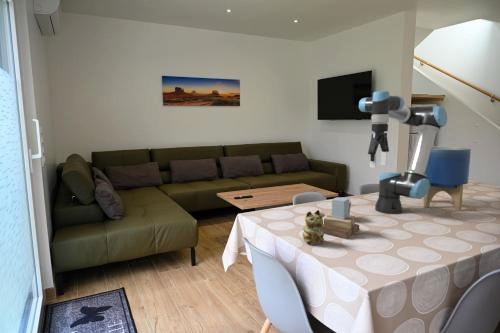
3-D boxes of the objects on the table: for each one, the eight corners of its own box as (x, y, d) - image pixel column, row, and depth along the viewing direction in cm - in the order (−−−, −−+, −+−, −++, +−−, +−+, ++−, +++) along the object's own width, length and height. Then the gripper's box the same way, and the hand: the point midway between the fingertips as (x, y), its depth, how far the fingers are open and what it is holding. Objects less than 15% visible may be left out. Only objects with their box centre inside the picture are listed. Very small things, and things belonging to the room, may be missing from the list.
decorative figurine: (308, 246, 141) (309, 213, 139) (298, 240, 149) (298, 208, 147) (326, 243, 145) (327, 210, 143) (315, 237, 153) (316, 206, 151)
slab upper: (330, 220, 167) (330, 212, 167) (354, 223, 162) (354, 215, 161) (323, 226, 157) (323, 218, 156) (349, 230, 151) (349, 222, 151)
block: (337, 214, 163) (337, 197, 162) (348, 216, 159) (349, 198, 158) (331, 217, 158) (332, 199, 157) (343, 219, 155) (344, 201, 153)
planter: (439, 199, 224) (443, 145, 219) (476, 209, 199) (481, 148, 194) (408, 202, 216) (412, 147, 211) (443, 213, 191) (448, 150, 186)
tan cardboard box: (332, 226, 170) (332, 219, 169) (358, 232, 160) (359, 224, 160) (319, 233, 159) (319, 225, 159) (346, 240, 150) (346, 232, 149)
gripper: (381, 122, 172) (380, 162, 176) (361, 124, 154) (360, 168, 157) (396, 122, 167) (394, 163, 170) (377, 124, 149) (375, 170, 152)
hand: (378, 166), depth 164 cm, fingers open, 13 cm apart
